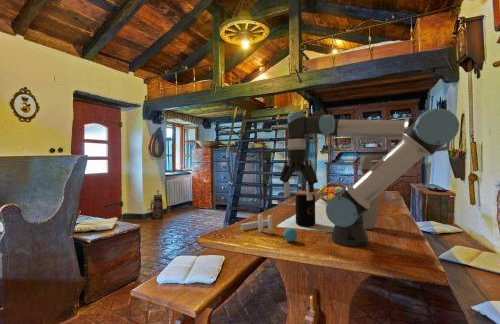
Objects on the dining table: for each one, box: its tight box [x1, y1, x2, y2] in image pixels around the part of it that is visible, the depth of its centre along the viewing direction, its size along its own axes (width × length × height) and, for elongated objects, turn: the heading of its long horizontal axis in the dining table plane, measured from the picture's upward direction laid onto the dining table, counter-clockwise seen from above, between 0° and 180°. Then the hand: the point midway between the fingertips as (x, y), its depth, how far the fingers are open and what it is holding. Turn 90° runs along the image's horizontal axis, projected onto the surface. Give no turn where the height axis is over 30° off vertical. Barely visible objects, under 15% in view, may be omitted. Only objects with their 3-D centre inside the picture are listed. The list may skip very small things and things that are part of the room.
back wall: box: [240, 219, 268, 231], centre depth 140 cm, size 2×18×3 cm, turn 121°
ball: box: [283, 227, 298, 243], centre depth 116 cm, size 6×6×6 cm
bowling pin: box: [359, 154, 380, 230], centre depth 136 cm, size 11×12×38 cm
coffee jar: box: [295, 190, 316, 228], centre depth 144 cm, size 11×11×18 cm
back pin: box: [257, 213, 264, 233], centre depth 131 cm, size 2×2×9 cm
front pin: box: [267, 215, 274, 235], centre depth 128 cm, size 2×2×9 cm
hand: (297, 198), depth 113 cm, fingers open, 13 cm apart
